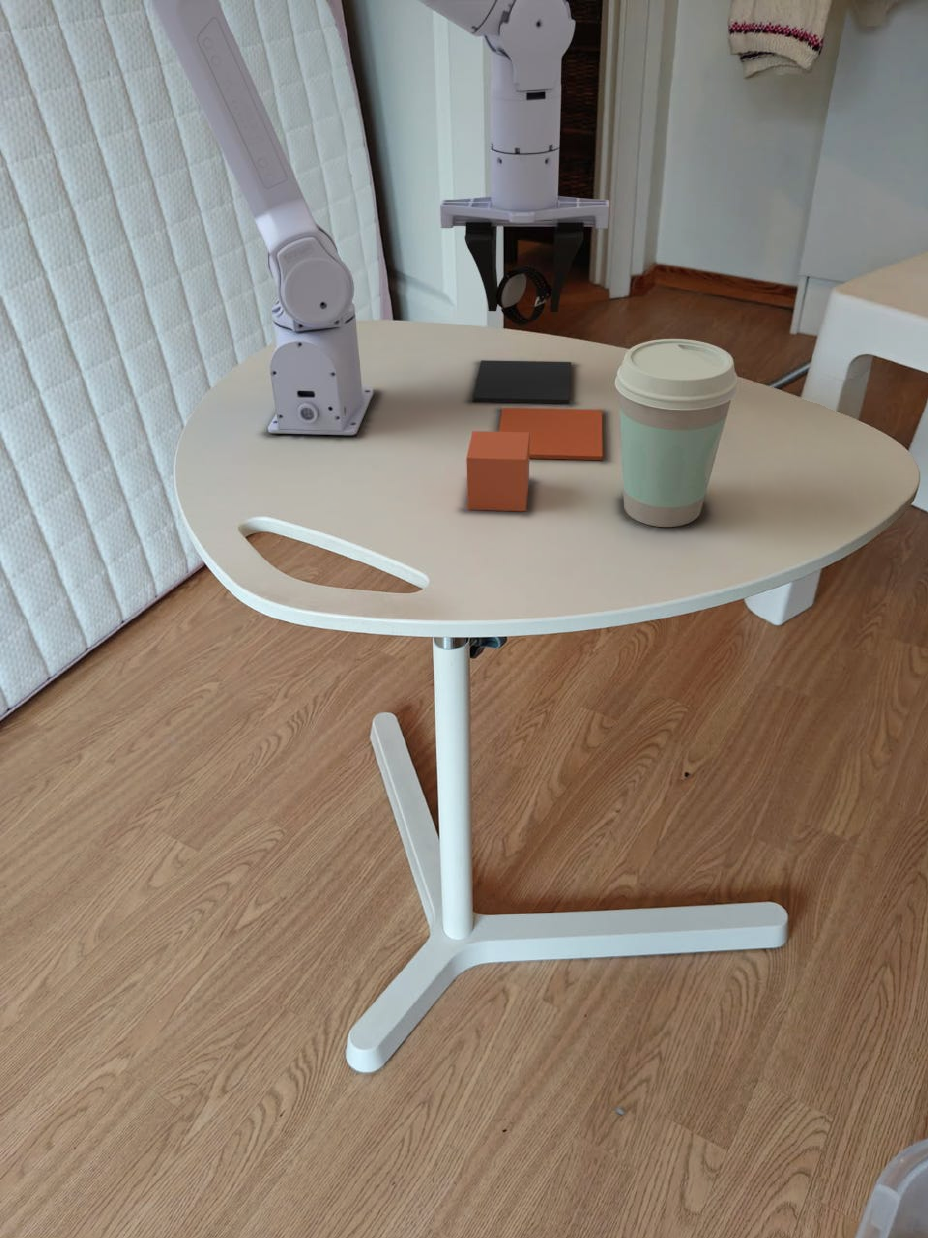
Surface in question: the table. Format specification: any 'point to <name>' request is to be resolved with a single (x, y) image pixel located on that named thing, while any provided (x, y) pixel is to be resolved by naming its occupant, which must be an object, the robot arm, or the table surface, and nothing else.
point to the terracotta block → (498, 471)
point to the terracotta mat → (557, 432)
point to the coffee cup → (671, 426)
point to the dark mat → (523, 382)
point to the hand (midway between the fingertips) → (523, 307)
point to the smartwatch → (521, 293)
